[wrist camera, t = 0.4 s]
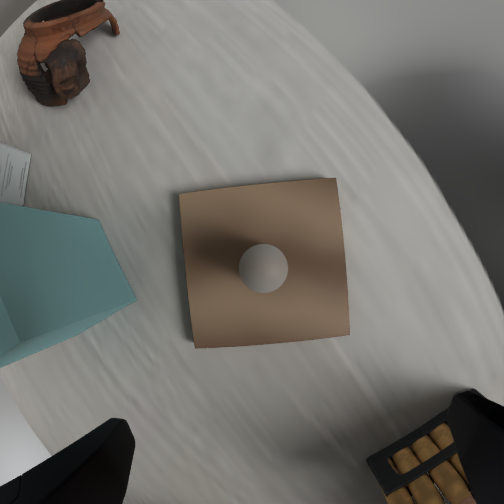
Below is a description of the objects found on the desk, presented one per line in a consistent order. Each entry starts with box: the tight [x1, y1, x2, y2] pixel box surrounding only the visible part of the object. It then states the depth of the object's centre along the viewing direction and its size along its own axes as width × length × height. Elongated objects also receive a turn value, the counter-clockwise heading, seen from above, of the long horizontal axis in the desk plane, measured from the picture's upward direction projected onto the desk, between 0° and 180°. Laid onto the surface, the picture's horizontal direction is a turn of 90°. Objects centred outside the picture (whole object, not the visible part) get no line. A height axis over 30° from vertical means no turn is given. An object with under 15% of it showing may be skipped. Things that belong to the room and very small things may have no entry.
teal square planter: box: [0, 203, 137, 368], centre depth 16 cm, size 6×6×12 cm
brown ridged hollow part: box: [17, 0, 120, 106], centre depth 19 cm, size 12×10×8 cm
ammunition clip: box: [367, 388, 487, 504], centre depth 14 cm, size 11×2×12 cm, turn 119°
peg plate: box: [179, 178, 350, 348], centre depth 18 cm, size 10×10×5 cm
